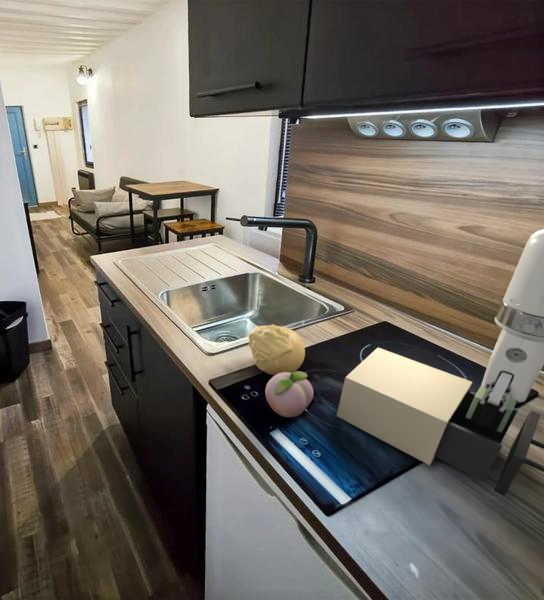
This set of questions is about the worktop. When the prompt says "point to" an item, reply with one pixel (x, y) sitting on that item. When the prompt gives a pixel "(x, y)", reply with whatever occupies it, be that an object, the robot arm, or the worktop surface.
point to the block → (510, 404)
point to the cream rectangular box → (401, 402)
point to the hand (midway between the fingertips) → (487, 416)
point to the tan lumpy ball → (276, 349)
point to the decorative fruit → (289, 393)
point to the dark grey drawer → (486, 445)
